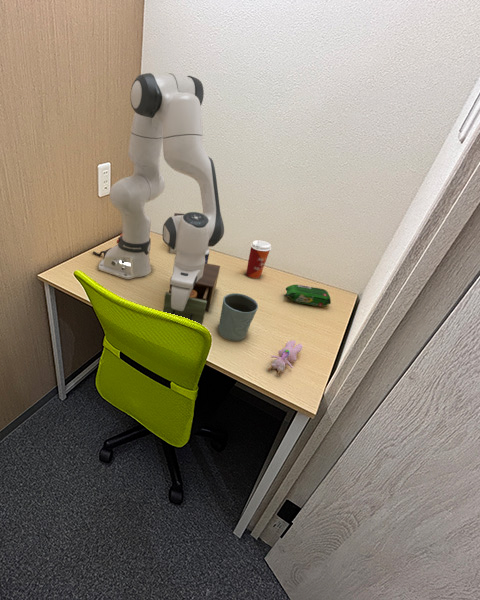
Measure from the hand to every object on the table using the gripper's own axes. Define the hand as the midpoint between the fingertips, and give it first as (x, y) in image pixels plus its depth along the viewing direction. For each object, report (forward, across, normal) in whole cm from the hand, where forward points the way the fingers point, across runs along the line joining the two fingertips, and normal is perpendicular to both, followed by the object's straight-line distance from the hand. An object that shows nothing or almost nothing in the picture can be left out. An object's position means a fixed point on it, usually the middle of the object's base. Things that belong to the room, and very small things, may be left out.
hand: (182, 306), depth 108 cm
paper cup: (+8, -45, +20) cm, 50 cm away
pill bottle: (+7, -44, -2) cm, 44 cm away
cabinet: (+8, -19, 0) cm, 20 cm away
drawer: (+7, -7, 0) cm, 10 cm away
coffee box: (+8, -56, -15) cm, 58 cm away
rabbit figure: (+8, +5, +32) cm, 33 cm away
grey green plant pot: (+8, -3, +17) cm, 18 cm away
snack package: (+8, -32, +39) cm, 51 cm away
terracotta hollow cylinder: (+6, -8, 0) cm, 9 cm away
